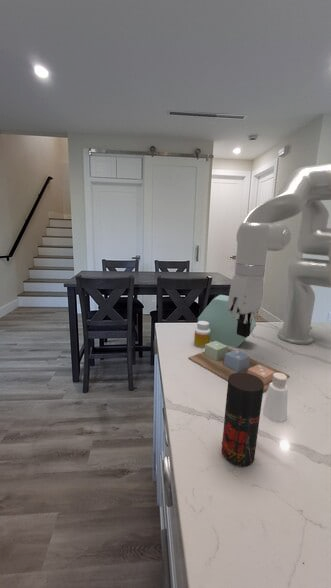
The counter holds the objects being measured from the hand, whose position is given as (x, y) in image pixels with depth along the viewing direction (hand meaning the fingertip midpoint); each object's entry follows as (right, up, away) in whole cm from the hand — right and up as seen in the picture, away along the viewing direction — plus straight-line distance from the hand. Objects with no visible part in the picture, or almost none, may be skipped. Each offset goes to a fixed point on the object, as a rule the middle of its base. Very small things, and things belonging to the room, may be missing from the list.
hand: (242, 335), depth 75 cm
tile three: (+4, -13, -2) cm, 14 cm away
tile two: (-1, -10, +3) cm, 11 cm away
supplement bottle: (-9, -8, +18) cm, 22 cm away
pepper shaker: (+2, -16, -16) cm, 23 cm away
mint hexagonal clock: (0, -7, +23) cm, 24 cm away
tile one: (-6, -8, +9) cm, 14 cm away
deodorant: (-8, -18, -25) cm, 32 cm away
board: (-1, -11, +4) cm, 12 cm away
